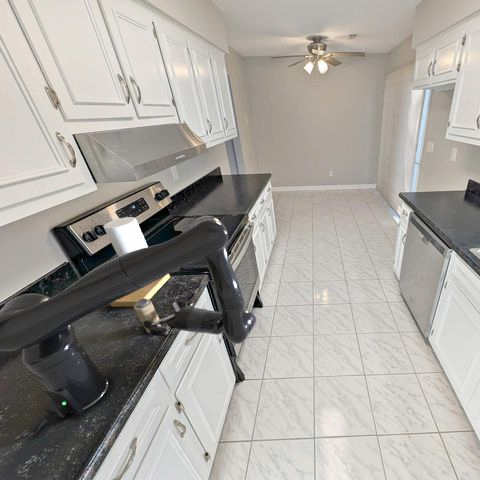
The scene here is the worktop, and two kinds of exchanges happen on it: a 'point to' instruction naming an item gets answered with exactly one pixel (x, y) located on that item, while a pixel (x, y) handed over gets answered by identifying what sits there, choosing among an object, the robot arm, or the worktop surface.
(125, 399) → the worktop surface
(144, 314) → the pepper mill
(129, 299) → the tray
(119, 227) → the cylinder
